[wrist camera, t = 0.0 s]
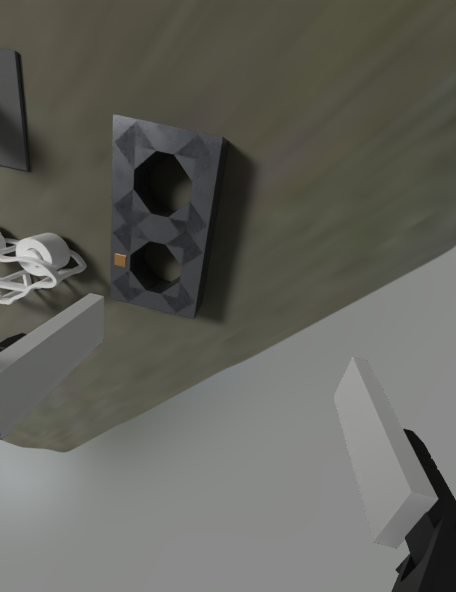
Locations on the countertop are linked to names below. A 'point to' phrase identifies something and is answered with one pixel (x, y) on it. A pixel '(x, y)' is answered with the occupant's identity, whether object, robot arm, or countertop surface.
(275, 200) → the countertop surface
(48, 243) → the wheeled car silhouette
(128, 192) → the block
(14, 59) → the mat
